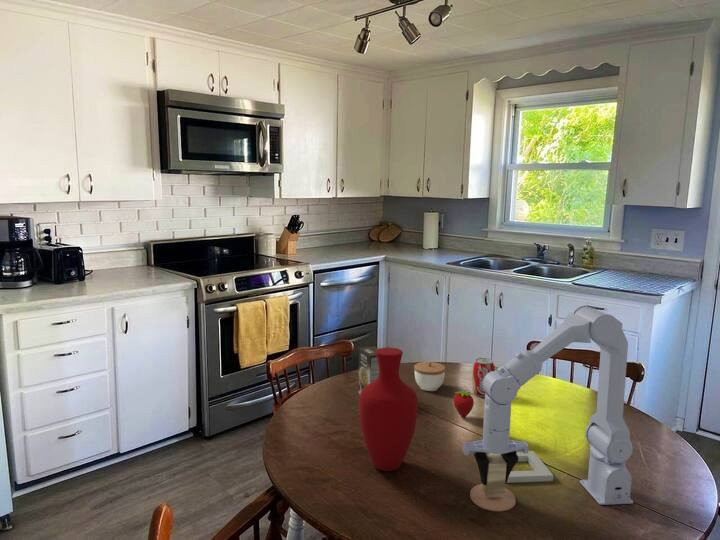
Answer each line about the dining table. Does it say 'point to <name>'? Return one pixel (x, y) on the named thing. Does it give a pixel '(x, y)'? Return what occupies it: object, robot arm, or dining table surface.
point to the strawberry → (463, 403)
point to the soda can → (481, 374)
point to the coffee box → (367, 367)
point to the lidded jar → (429, 375)
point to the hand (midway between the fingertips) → (493, 482)
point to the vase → (388, 413)
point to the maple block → (495, 477)
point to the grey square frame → (534, 475)
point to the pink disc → (492, 500)
